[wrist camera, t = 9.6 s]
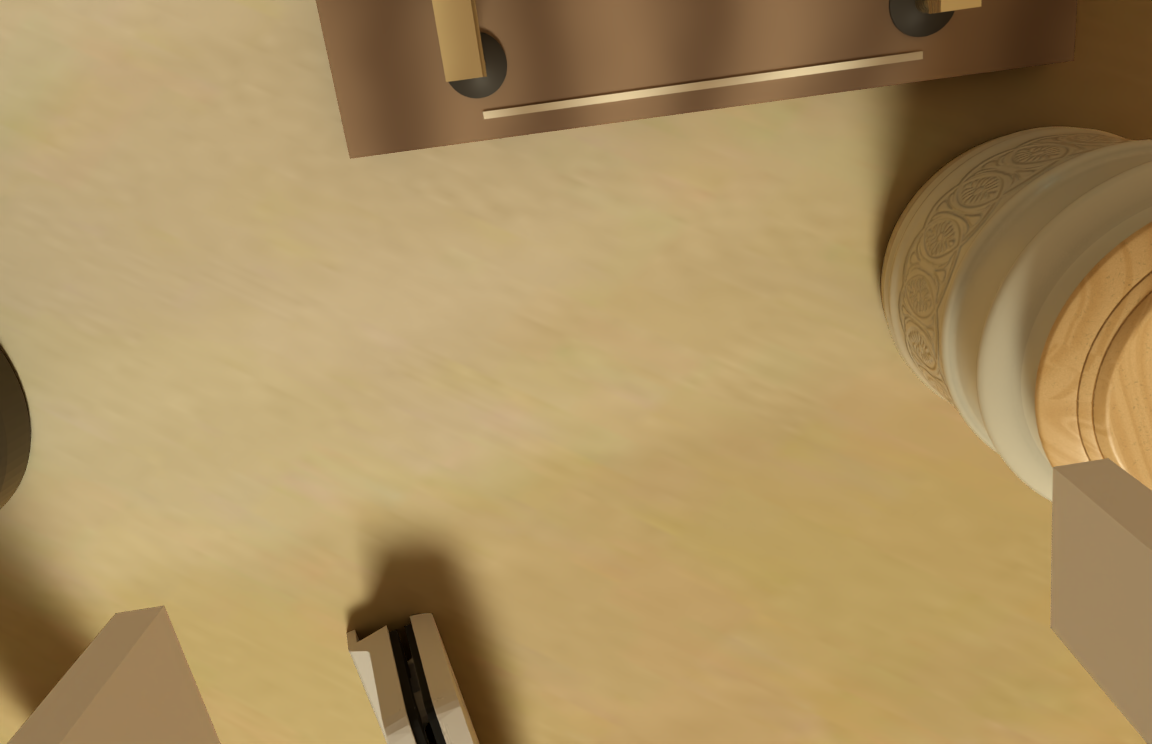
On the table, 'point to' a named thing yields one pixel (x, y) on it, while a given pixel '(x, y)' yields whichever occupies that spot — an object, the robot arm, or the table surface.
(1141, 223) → the jar
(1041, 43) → the gauge board
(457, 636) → the table surface
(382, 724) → the hinge
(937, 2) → the slider
